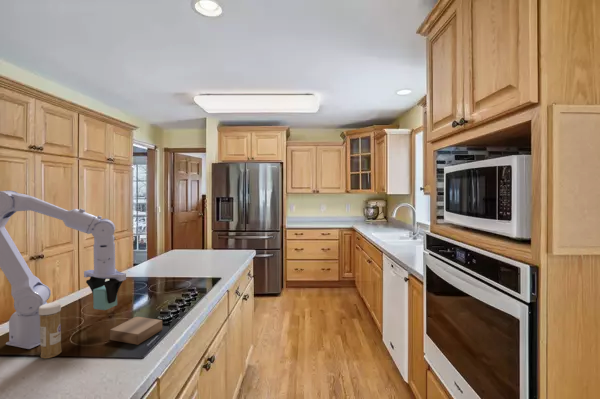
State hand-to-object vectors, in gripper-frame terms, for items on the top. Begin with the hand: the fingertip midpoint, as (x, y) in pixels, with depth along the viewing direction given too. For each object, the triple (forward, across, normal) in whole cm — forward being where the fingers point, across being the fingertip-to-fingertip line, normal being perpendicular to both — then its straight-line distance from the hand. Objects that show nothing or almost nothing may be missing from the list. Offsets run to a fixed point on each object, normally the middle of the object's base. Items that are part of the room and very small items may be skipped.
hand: (105, 301), depth 100 cm
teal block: (+2, 0, 0) cm, 2 cm away
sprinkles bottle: (+9, +1, +16) cm, 18 cm away
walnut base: (+9, -12, 0) cm, 15 cm away
